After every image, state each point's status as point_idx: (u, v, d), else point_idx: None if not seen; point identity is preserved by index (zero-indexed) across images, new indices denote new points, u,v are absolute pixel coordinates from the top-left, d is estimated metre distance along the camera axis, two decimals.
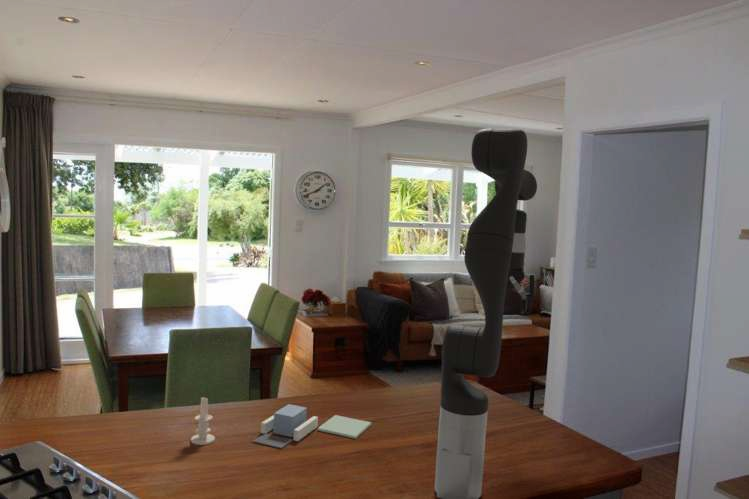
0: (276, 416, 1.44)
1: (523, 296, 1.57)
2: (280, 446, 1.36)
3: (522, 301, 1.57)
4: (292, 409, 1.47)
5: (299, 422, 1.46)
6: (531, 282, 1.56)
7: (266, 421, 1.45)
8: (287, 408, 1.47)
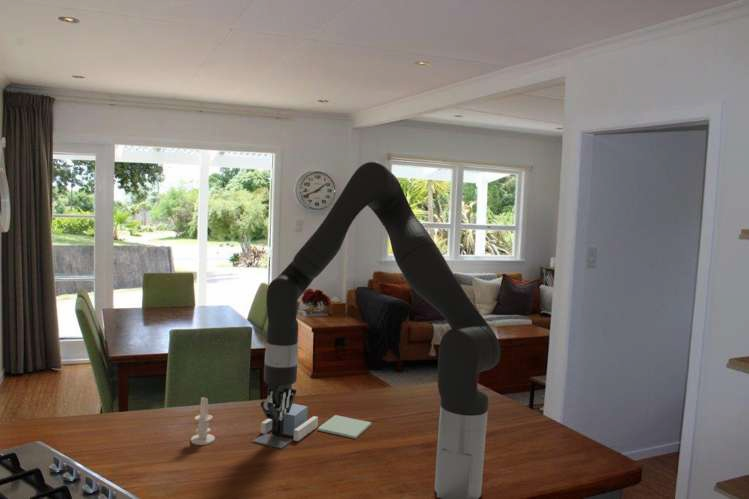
0: None
1: (284, 415, 1.41)
2: (280, 446, 1.36)
3: (283, 421, 1.41)
4: (293, 408, 1.48)
5: (300, 421, 1.46)
6: (293, 397, 1.45)
7: (266, 421, 1.45)
8: None
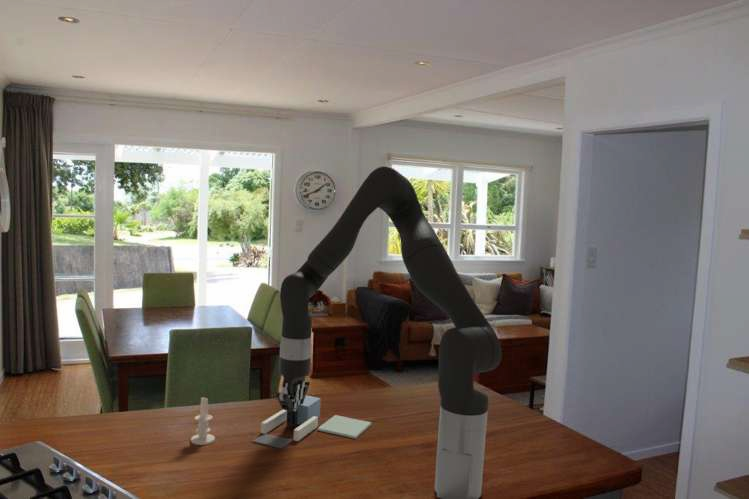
0: None
1: (298, 406, 1.48)
2: (280, 446, 1.36)
3: (297, 411, 1.48)
4: (306, 399, 1.54)
5: (313, 412, 1.53)
6: (306, 389, 1.51)
7: (266, 421, 1.45)
8: None
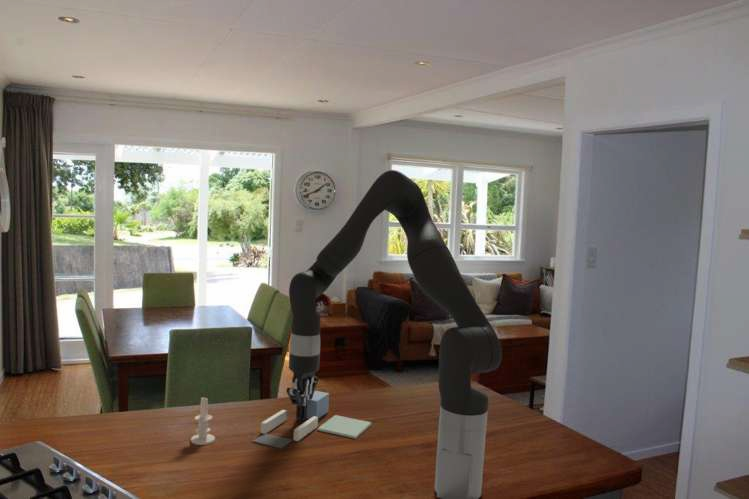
0: None
1: (307, 401, 1.52)
2: (280, 446, 1.36)
3: (306, 406, 1.52)
4: (315, 394, 1.58)
5: (322, 406, 1.57)
6: (315, 384, 1.55)
7: (266, 421, 1.45)
8: None
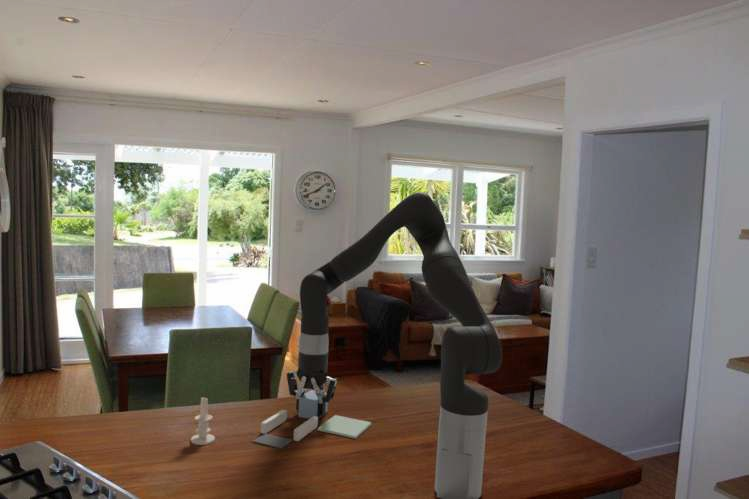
0: (301, 400, 1.55)
1: None
2: (280, 446, 1.36)
3: None
4: (315, 394, 1.59)
5: None
6: None
7: (266, 421, 1.45)
8: (310, 394, 1.59)
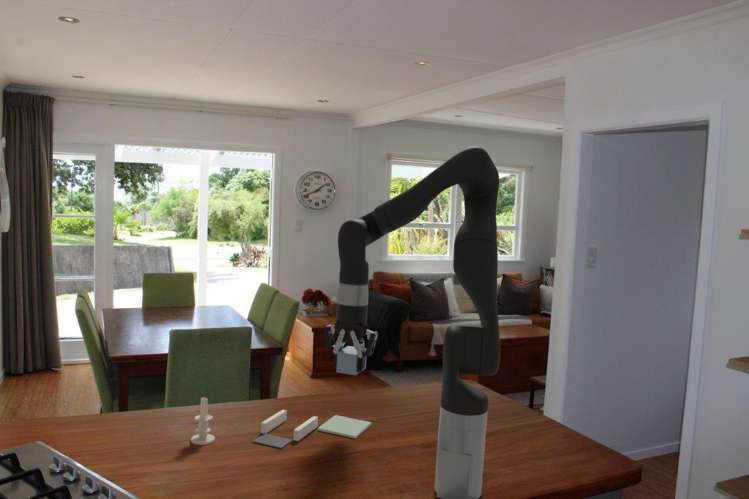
0: (339, 355, 1.48)
1: None
2: (280, 446, 1.36)
3: None
4: (353, 349, 1.51)
5: None
6: None
7: (266, 421, 1.45)
8: (348, 349, 1.51)
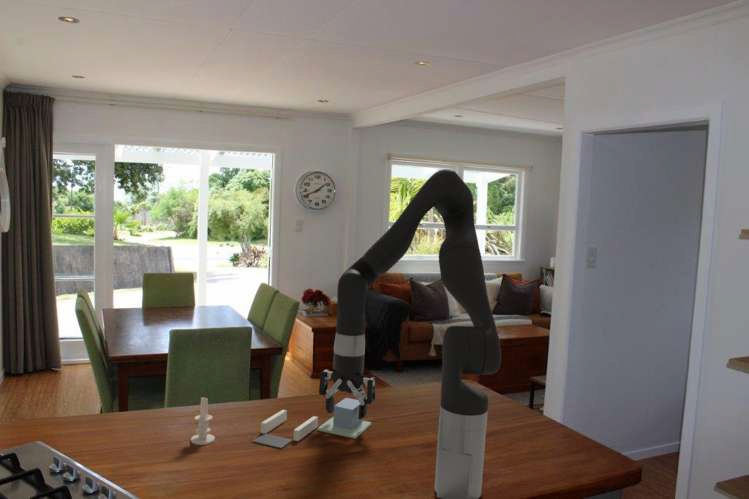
0: (336, 409, 1.49)
1: None
2: (280, 446, 1.36)
3: None
4: (350, 402, 1.52)
5: (357, 415, 1.50)
6: None
7: (266, 421, 1.45)
8: (345, 402, 1.52)
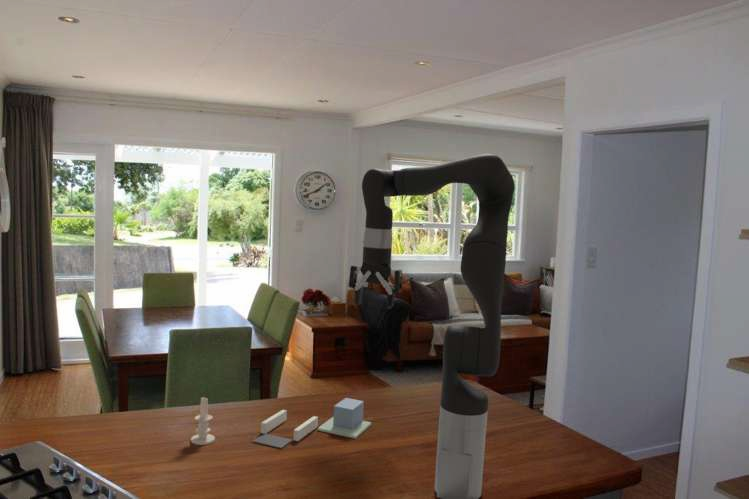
0: (336, 409, 1.49)
1: None
2: (280, 446, 1.36)
3: None
4: (350, 402, 1.52)
5: (357, 415, 1.50)
6: None
7: (266, 421, 1.45)
8: (345, 402, 1.52)
